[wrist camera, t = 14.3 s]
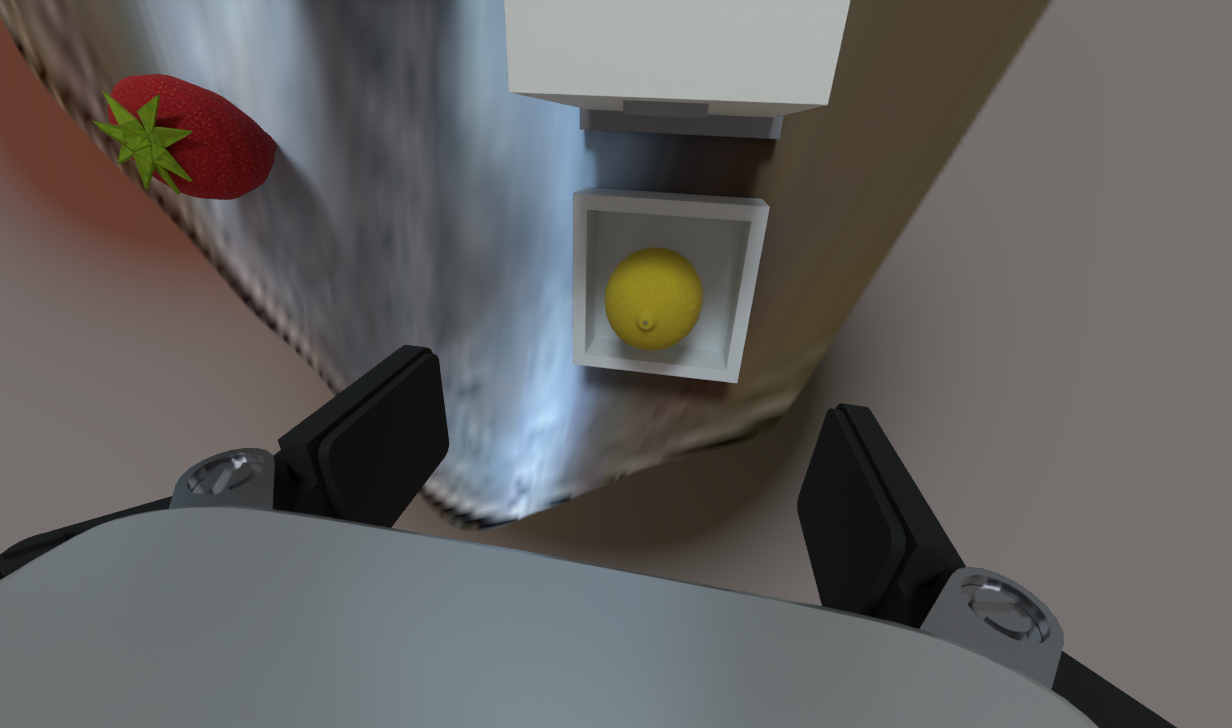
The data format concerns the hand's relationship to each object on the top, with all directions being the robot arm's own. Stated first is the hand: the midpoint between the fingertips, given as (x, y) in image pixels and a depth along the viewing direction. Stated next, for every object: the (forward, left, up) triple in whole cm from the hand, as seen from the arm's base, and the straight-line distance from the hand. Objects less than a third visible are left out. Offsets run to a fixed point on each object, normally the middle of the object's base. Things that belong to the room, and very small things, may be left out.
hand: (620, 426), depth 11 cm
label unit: (0, +10, -21) cm, 23 cm away
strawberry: (-27, +5, -21) cm, 35 cm away
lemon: (-1, -2, -20) cm, 20 cm away
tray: (0, -2, -21) cm, 21 cm away
